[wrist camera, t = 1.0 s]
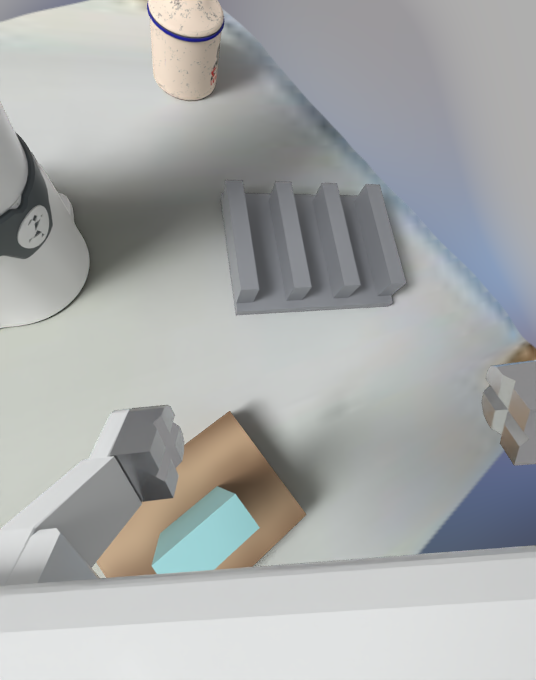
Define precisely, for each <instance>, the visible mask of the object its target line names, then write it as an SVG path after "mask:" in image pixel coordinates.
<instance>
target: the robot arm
mask: <svg viewBox="0 0 536 680" xmlns="http://www.w3.org/2000/svg"><path fill="white" fill-rule="evenodd" d="M89 262H90V261H89V252H88V248H87V245H86V243H85V240H84V238H83V237H82V235H81V234H80V232H79V230H78V229H77V227H76V225H75V223H74V213H73V207H72V204H71V202H70V201H69V199H68V198H67V197H66V196H65V195H63V194H61V193H58V192H57V191H56V189H55V187H54V186H53V184H52V182H51V181H50V179H49V177H48V176H47V174H46V172H45V171H44V169H43V168H42V166H41V165H40V164H39V163H38V162H37V160H36V159H35V157H34V155H33V154H32V152H30V150H29V148H28V147H27V145H26V143H25V142H24V141H23V140H22V138H21V137H20V136H19V135H18V134H17V133H16V132H15V131H14V129H13V127H12V125H11V123H10V121H9V118H8V116H7V114H6V112H5V110H4V108H3V106H2V104H1V102H0V328H4V327H12V326H21V325H27V324H31V323H35V322H38V321H41V320H44V319H46V318H48V317H50V316H52V315H54V314H56V313H57V312H59V311H60V310H62V309H63V308H65V307H66V306H67V305H68V304H69V303H70V302H71V301H72V300H73V299H74V298H75V297H76V296H77V295H78V293H79V292H80V290H81V289H82V287H83V285H84V283H85V281H86V279H87V275H88V271H89ZM486 380H487V381H488V383H489V384H490V386H489V387H488V388H487V389H486V390H485V391H484V392H483V396H482V408H483V414H484V416H485V419H486V421H487V423H488V424H489V426H490V428H491V429H492V430H494V431H496V432H497V433H499V434H501V435H502V437H501V441H500V444H501V446H502V447H503V449H504V450H505V452H506V453H507V455H508V457H509V458H510V460H511V461H512V463H513V465H528V464H536V360H534V361H525V362H517V363H509V364H501V365H493V366H490V367H489V369H488V370H487V375H486ZM174 416H175V414H174V412H173V410H172V408H171V406H169V405H160V406H150V407H139V408H132V409H122V410H114V411H113V412H112V413H110V415H109V417H108V419H107V421H106V423H105V425H104V427H103V429H102V431H101V433H100V436H99V438H98V440H97V442H96V444H95V446H94V448H93V450H92V452H91V454H90V456H89V458H88V459H84V460H82V461H80V462H79V463H78V464H77V465H76V466H74V467H73V468H72V469H71V470H70V471H68V472H67V473H66V474H65V475H64V476H62V477H61V478H60V479H59V480H58V481H56V482H55V483H54V484H53V485H52V486H50V487H49V488H48V489H47V490H46V491H44V492H43V493H42V494H41V495H40V496H38V497H37V498H36V499H35V500H34V501H32V502H31V503H30V504H29V505H28V506H26V507H25V508H24V509H23V510H22V511H20V512H19V513H18V514H17V515H16V516H14V517H13V518H12V519H11V520H10V521H8V522H7V523H6V524H5V525H4V526H2V527H1V528H0V680H536V545H535V546H521V547H508V548H495V549H481V550H468V551H455V552H443V553H429V554H416V555H403V556H389V557H376V558H363V559H350V560H337V561H324V562H311V563H298V564H284V565H271V566H258V567H245V568H232V569H218V570H205V571H192V572H179V573H165V574H152V575H139V576H126V577H112V578H99V576H98V575H97V574H96V573H95V572H94V571H93V570H92V567H93V565H94V564H95V563H96V561H97V560H98V559H99V558H100V556H101V555H102V554H103V553H104V551H105V550H106V549H107V548H108V546H109V545H110V544H111V543H112V541H113V540H114V539H115V537H116V536H117V535H118V534H119V532H120V531H121V530H122V529H123V527H124V526H125V525H126V524H127V522H128V521H129V520H130V518H131V517H132V516H133V515H134V513H135V512H136V511H137V510H138V508H139V507H140V506H141V505H142V502H146V501H154V500H162V499H170V498H174V494H175V490H176V485H177V481H178V477H179V475H178V473H177V471H176V467H177V466H178V465H179V464H180V463H181V462H182V459H183V455H184V438H183V434H182V431H181V428H180V427H179V426H178V425H176V424H175V423H173V420H174Z"/></svg>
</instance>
